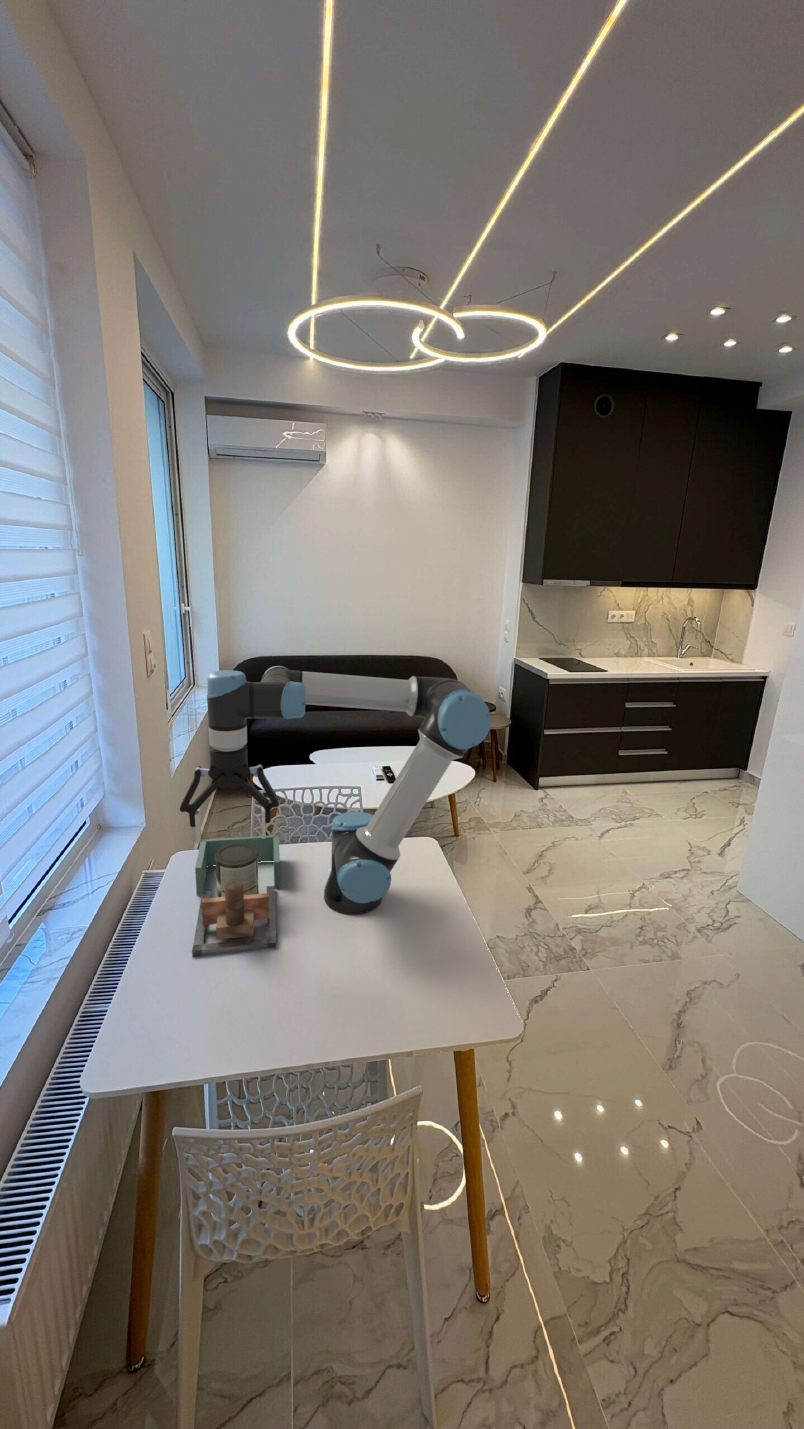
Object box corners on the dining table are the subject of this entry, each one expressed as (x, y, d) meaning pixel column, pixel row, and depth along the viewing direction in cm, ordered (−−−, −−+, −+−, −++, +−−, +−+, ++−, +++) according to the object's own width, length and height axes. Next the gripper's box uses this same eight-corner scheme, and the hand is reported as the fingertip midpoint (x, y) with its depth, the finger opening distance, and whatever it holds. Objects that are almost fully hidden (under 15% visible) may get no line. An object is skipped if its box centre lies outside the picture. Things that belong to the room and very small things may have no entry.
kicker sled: (269, 914, 141) (268, 870, 137) (269, 934, 134) (268, 888, 131) (203, 920, 137) (201, 875, 134) (200, 940, 130) (197, 893, 127)
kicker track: (274, 890, 154) (274, 885, 154) (276, 948, 132) (276, 942, 132) (202, 896, 150) (202, 891, 149) (192, 956, 128) (192, 950, 128)
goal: (278, 860, 169) (278, 835, 166) (280, 888, 155) (279, 861, 153) (202, 865, 164) (200, 839, 162) (196, 895, 150) (195, 867, 148)
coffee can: (208, 904, 147) (205, 854, 143) (241, 886, 155) (239, 838, 151) (235, 920, 141) (233, 868, 137) (267, 901, 149) (267, 851, 145)
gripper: (288, 738, 128) (289, 826, 134) (167, 741, 122) (173, 832, 128) (290, 749, 121) (290, 842, 127) (161, 753, 115) (168, 850, 121)
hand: (231, 837), depth 127 cm, fingers open, 13 cm apart
